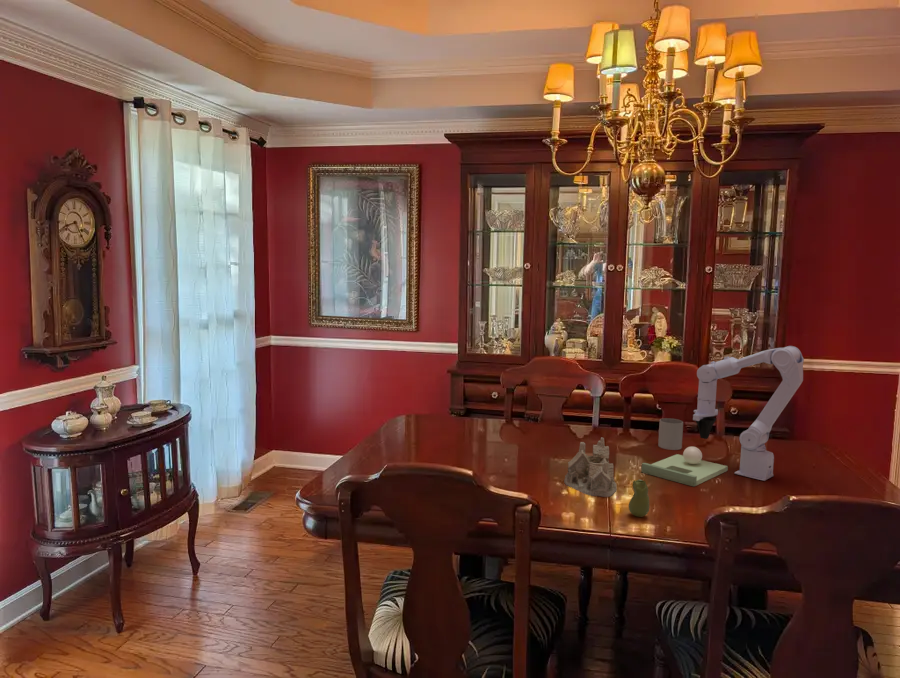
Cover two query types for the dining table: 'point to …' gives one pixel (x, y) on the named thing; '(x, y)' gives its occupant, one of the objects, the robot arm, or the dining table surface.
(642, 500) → the pear
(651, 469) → the putting mat
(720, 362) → the robot arm
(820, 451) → the dining table surface
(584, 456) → the ceramic cottage
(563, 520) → the dining table surface
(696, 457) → the golf ball
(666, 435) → the cup
